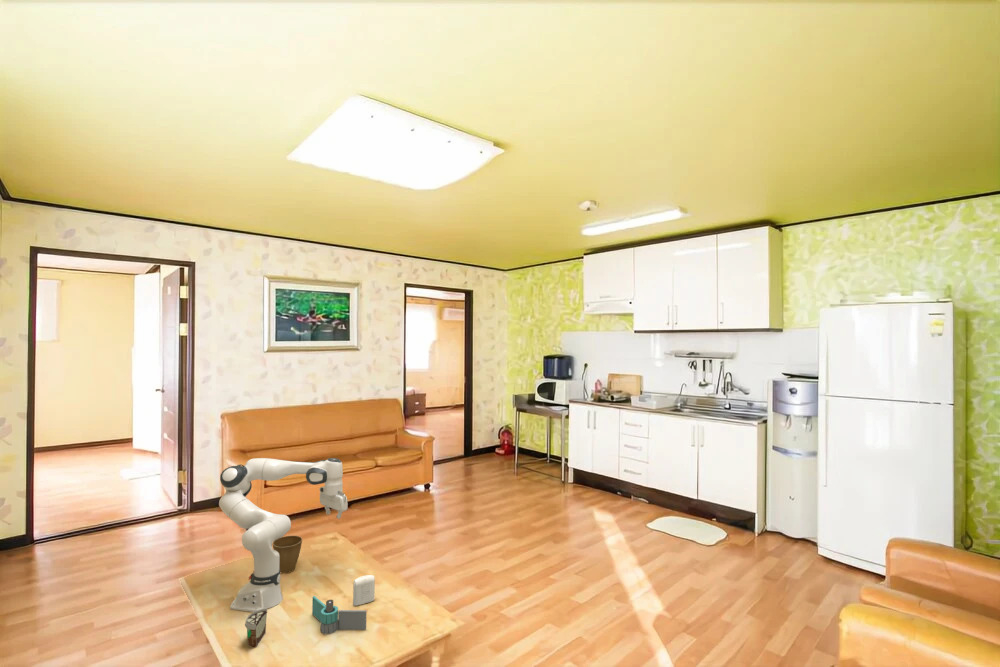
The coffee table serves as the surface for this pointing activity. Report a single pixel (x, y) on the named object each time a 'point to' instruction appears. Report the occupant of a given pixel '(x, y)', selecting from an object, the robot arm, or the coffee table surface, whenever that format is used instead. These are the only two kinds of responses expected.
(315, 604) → the teal hinge knuckle plate
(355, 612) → the frame leaf
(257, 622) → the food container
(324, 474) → the robot arm
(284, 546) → the plant pot
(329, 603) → the hinge pin
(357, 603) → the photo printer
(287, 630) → the coffee table surface
